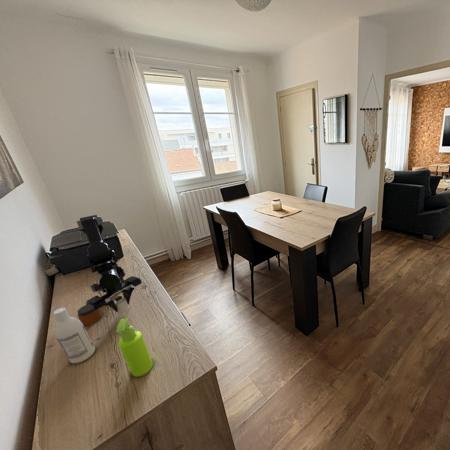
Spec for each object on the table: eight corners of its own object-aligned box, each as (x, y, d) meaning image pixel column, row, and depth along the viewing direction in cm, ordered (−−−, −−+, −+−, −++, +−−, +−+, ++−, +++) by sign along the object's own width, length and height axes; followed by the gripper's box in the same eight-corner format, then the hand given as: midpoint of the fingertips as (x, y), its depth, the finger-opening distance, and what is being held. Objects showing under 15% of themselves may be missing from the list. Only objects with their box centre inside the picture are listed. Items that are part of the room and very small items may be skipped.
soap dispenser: (129, 382, 74) (106, 334, 67) (134, 364, 80) (113, 317, 73) (151, 374, 76) (131, 326, 69) (153, 357, 82) (135, 311, 75)
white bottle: (125, 306, 105) (120, 293, 103) (131, 308, 104) (126, 295, 101) (115, 313, 102) (109, 299, 99) (121, 315, 100) (115, 302, 97)
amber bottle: (96, 312, 106) (91, 301, 104) (105, 315, 103) (100, 304, 101) (78, 322, 100) (72, 311, 98) (87, 327, 98) (81, 315, 96)
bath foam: (81, 347, 88) (57, 304, 81) (100, 346, 88) (78, 302, 81) (64, 364, 82) (37, 319, 74) (85, 363, 82) (60, 317, 74)
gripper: (120, 262, 107) (131, 291, 113) (70, 286, 92) (86, 318, 97) (136, 266, 103) (147, 296, 109) (87, 292, 87) (102, 325, 93)
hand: (122, 307), depth 102 cm, fingers closed on white bottle, 4 cm apart
